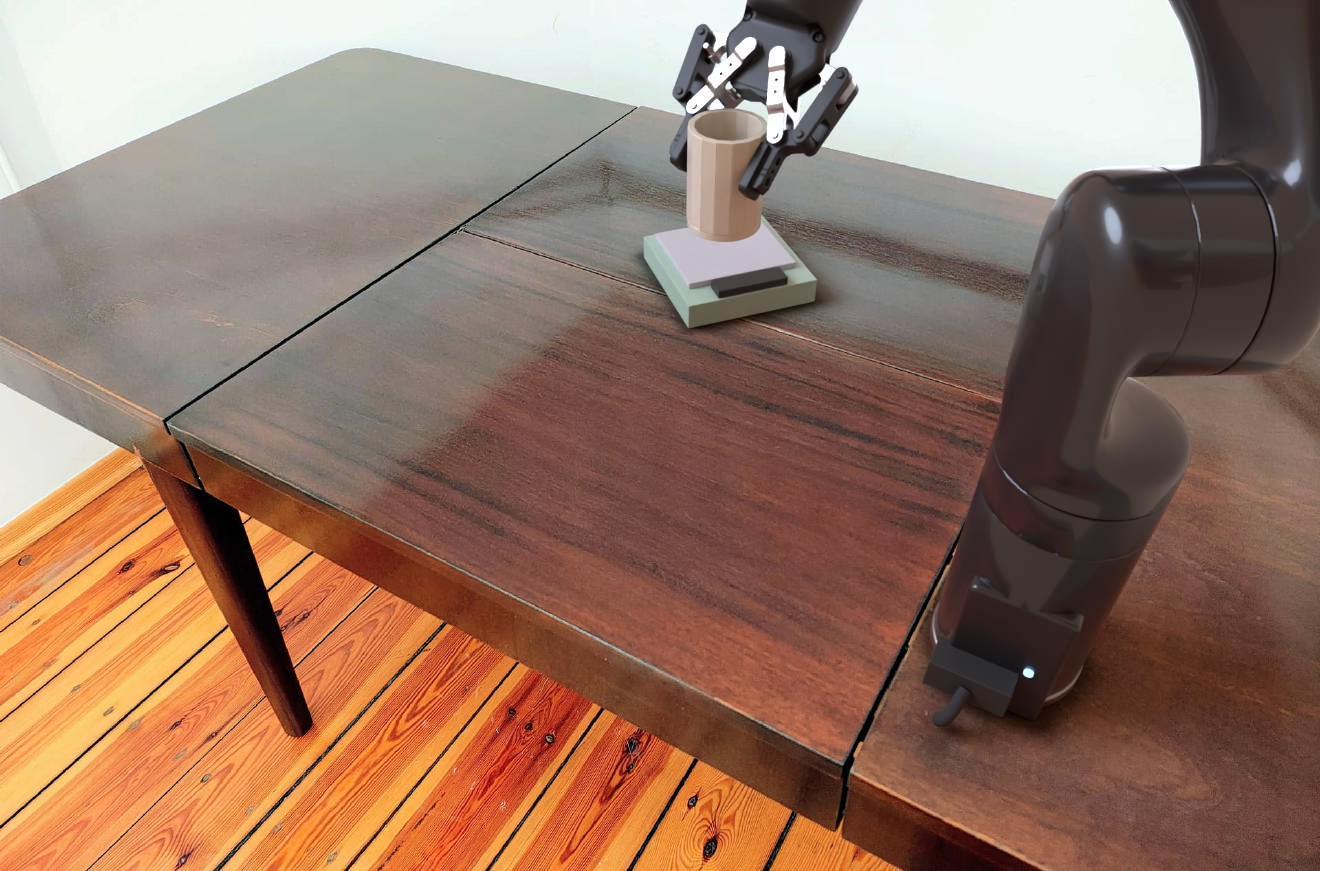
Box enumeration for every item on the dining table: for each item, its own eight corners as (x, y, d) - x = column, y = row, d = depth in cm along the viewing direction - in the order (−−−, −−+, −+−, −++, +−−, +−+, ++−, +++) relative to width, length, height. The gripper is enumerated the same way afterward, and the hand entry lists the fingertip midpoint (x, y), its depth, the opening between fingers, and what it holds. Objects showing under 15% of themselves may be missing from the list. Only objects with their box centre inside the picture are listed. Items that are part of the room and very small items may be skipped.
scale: (814, 301, 90) (818, 272, 87) (688, 328, 87) (688, 299, 84) (759, 235, 99) (762, 207, 96) (643, 257, 96) (643, 229, 93)
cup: (740, 249, 70) (746, 150, 65) (673, 230, 72) (673, 132, 67) (772, 215, 74) (781, 118, 68) (707, 197, 76) (710, 102, 70)
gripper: (720, -80, 68) (615, 131, 69) (893, -40, 61) (771, 194, 62) (759, -21, 74) (662, 171, 76) (919, 21, 67) (808, 231, 69)
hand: (712, 180), depth 69 cm, fingers closed on cup, 6 cm apart
